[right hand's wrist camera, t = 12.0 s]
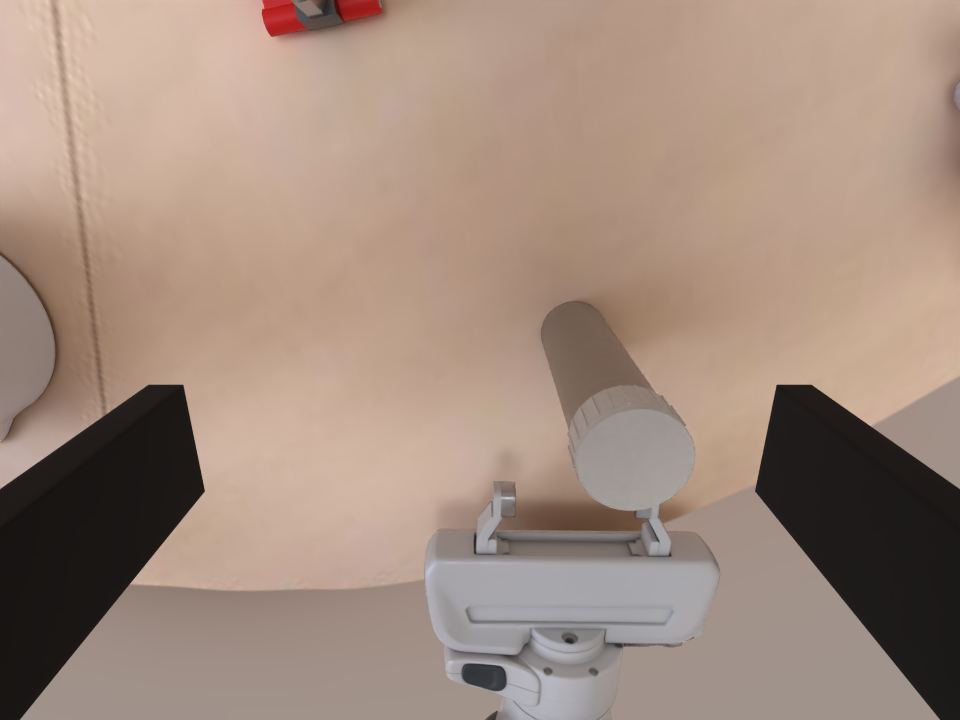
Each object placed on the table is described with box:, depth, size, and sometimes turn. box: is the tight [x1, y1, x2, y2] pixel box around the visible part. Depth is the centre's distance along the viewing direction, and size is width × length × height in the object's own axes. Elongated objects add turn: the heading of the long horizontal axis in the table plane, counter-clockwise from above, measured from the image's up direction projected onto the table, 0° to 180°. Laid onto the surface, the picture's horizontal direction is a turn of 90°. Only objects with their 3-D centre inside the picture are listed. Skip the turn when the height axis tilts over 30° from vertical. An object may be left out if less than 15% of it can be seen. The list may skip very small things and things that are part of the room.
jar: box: [541, 302, 656, 430], centre depth 32 cm, size 5×5×17 cm
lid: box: [568, 385, 695, 511], centre depth 24 cm, size 5×5×2 cm
